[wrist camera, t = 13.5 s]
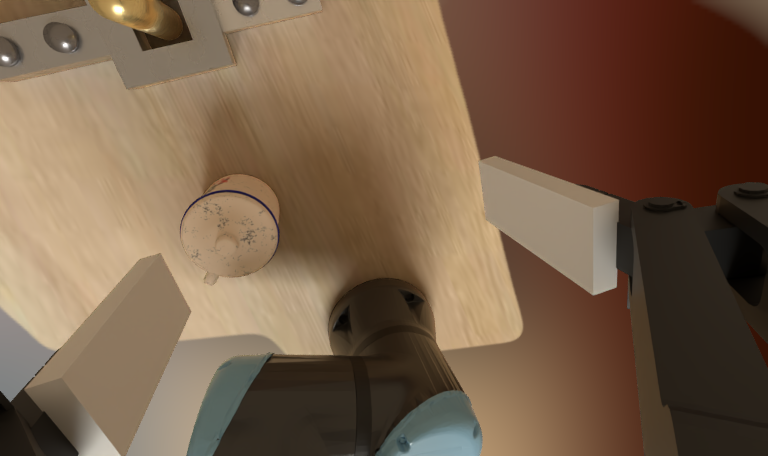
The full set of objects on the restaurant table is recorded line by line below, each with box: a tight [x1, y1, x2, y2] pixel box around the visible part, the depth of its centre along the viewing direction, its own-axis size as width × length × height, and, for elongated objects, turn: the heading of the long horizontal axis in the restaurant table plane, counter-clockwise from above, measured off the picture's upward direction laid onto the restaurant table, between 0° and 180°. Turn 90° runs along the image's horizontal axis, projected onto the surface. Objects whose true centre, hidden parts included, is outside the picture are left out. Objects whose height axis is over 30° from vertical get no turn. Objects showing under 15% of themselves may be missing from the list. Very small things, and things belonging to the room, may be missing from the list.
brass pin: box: [88, 0, 183, 40], centre depth 31 cm, size 3×3×12 cm
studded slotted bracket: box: [0, 0, 323, 89], centre depth 35 cm, size 10×30×4 cm, turn 103°
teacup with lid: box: [180, 174, 280, 285], centre depth 39 cm, size 12×9×12 cm
